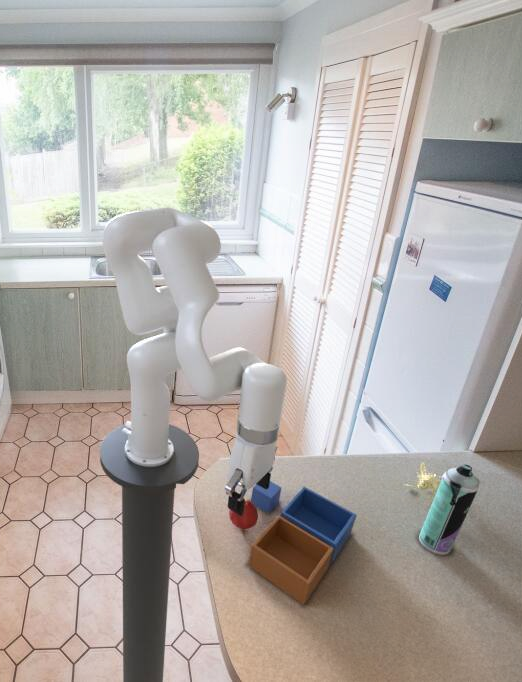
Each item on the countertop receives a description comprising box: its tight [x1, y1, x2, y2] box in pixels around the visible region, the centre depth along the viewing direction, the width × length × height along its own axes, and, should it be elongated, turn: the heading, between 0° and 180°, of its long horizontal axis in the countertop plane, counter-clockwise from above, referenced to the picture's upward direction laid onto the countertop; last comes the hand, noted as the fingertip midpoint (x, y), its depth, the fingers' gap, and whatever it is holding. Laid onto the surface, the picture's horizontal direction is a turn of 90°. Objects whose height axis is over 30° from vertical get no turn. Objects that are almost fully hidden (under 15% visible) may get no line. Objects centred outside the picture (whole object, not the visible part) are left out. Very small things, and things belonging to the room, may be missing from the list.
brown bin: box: [247, 514, 334, 606], centre depth 85 cm, size 11×10×6 cm
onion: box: [228, 498, 259, 530], centre depth 93 cm, size 6×6×8 cm
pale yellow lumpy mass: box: [403, 458, 442, 505], centre depth 100 cm, size 11×15×9 cm
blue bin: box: [279, 486, 357, 566], centre depth 92 cm, size 11×10×6 cm
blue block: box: [250, 480, 283, 514], centre depth 100 cm, size 4×4×4 cm
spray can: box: [418, 464, 481, 556], centre depth 87 cm, size 6×6×20 cm
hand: (248, 498), depth 91 cm, fingers open, 9 cm apart
